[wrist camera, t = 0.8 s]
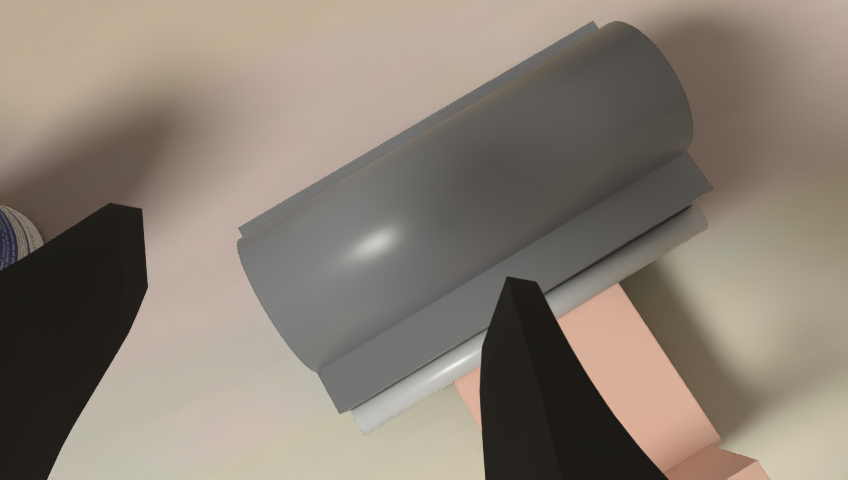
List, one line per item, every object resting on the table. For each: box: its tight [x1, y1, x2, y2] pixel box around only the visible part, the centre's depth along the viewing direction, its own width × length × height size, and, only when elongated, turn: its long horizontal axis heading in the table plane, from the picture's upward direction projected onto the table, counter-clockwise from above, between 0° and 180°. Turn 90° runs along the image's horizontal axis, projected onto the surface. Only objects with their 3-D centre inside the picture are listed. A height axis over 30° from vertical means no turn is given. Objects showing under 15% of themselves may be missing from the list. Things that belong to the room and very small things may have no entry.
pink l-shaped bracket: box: [453, 283, 770, 480], centre depth 23 cm, size 14×7×5 cm, turn 31°
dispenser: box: [237, 21, 713, 436], centre depth 24 cm, size 8×14×8 cm, turn 121°
